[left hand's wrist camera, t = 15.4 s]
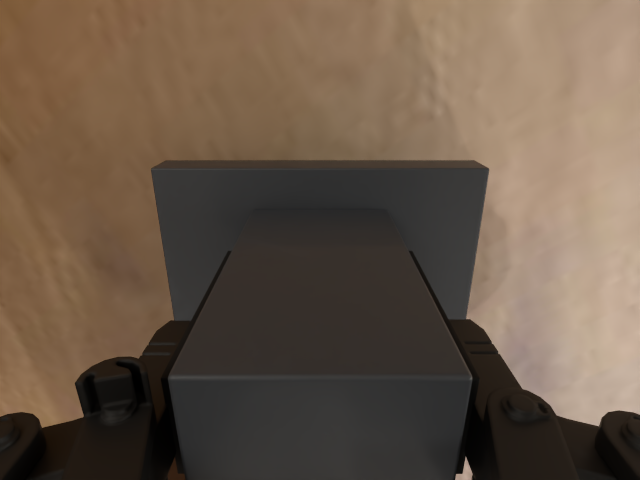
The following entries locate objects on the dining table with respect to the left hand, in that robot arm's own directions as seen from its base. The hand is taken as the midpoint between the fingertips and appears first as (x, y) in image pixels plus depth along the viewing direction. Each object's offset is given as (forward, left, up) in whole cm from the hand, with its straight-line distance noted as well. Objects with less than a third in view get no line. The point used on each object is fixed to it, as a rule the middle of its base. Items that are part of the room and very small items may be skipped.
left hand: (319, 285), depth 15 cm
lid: (+3, 0, -5) cm, 6 cm away
